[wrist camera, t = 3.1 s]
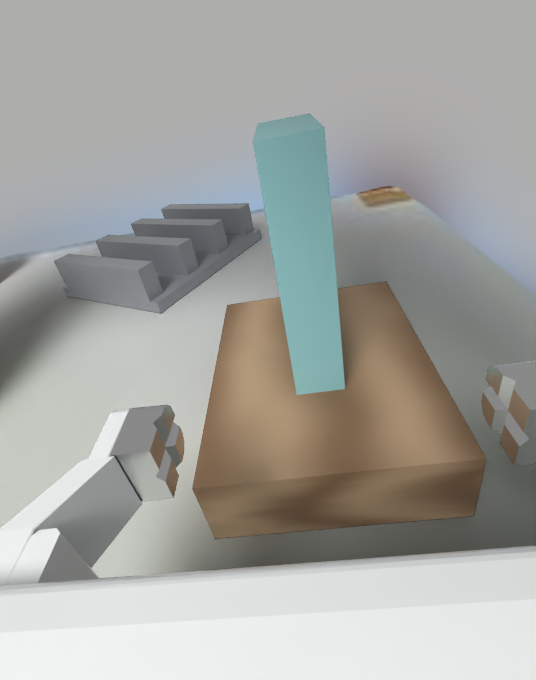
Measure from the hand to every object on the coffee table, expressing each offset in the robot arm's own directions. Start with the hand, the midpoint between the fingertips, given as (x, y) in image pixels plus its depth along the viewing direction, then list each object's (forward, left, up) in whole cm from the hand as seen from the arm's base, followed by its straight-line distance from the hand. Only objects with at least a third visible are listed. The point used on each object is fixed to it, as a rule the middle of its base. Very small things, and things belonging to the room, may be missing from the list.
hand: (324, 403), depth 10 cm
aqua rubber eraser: (+5, +9, -7) cm, 12 cm away
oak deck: (+5, +9, -11) cm, 15 cm away
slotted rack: (+5, +42, -11) cm, 44 cm away
